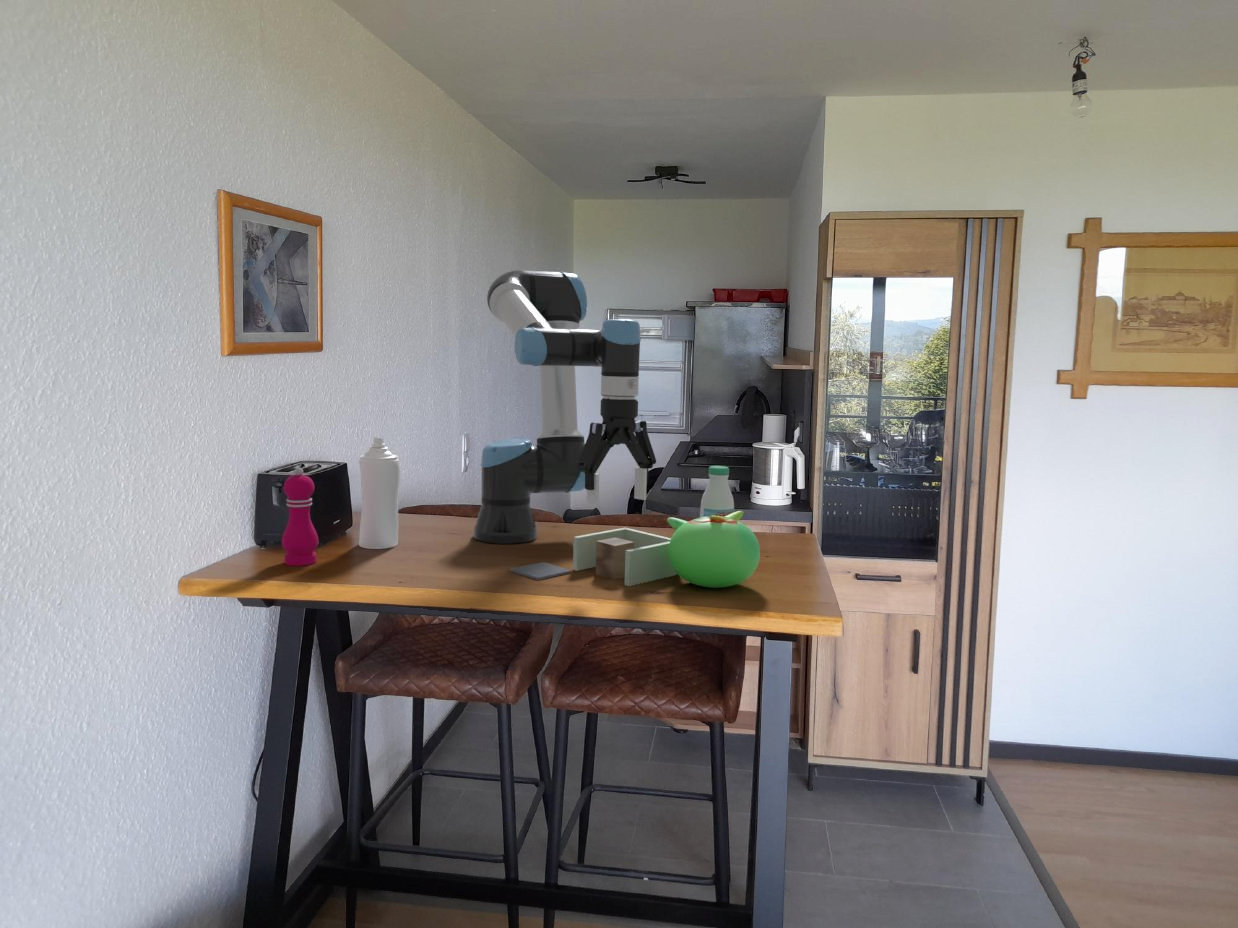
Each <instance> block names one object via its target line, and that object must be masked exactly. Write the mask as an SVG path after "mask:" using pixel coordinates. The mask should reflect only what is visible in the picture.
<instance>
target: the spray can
mask: <svg viewBox="0 0 1238 928" xmlns="http://www.w3.org/2000/svg"><path fill="white" fill-rule="evenodd" d="M372 440H373V442H372V443H371V446H369V447H368V449H369V450H367V451H365V453H364V454H361V455H360V456H359V460H358V463H359V471H360V482H361V502H362V505H361V514H360V522H359V523H360V524H359V534H358V535H359V537H358V539H359V541H358V546H359V547H361V548H364V549H369V550H384V549H391V548H394V547H396V546H398V545H399V544H398V543H399V542H398V540H399V494H400V491H399V490H400V478H401V466H400V460H399V458H398V457H399V455H398V454H394V453H392V452H391V451H390V450H389V447H387V446H386V443H384V438H379V437H373V439H372Z"/></svg>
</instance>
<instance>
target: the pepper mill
mask: <svg viewBox="0 0 1238 928" xmlns="http://www.w3.org/2000/svg"><path fill="white" fill-rule="evenodd" d="M293 472H294V473H293V474H294V475H290V476H289V477H288V478H286V479H285V481H284V484H283V493H284V494H285V495H286V496H287V498H286V506H287V507H288V510H289V515H288V516H289V519H288V522H287V525H286V528H285V530H284V532H283V534H282V538H281V547H282V548H283V549H284V550H285V552H287V553H285V554H284V563H285V565H287V566H290V567H291V566H292V567H302V566H305V567H306V566H311V565H313V564H316V563H317V558H318V557H317V552H315V550H316V548H317V547H318V546H319V543H320V542H319V540H320V539H319V536H318V533H317V530H316V529H315V526H314V524H313V522H312V520H311V513H310V512H311V506H312V505H313V498H312V497H311V496H312V495H313V494H314V492H315V483H314V480H313V479H312V478H311V477H309V476H307V475H305V474H304V469H303V468H301V467H295V469H294V470H293Z"/></svg>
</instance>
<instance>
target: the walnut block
mask: <svg viewBox="0 0 1238 928" xmlns="http://www.w3.org/2000/svg"><path fill="white" fill-rule="evenodd" d="M630 549H634V542H632V541H628V540H624V539H620V538H616V537H615V538H610V539H605V540H599V541H596V567H595V575H597V576H600V577H604V578H607V579H611V580H613V579H614V581H615V580H619V578H620V579H622V578H621V577H624V578H625V552H626V550H630Z"/></svg>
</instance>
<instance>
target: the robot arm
mask: <svg viewBox="0 0 1238 928" xmlns="http://www.w3.org/2000/svg"><path fill="white" fill-rule="evenodd" d="M486 301H487V302H486V303H487V306H488V308H489V311H490V312H491V314H492V315H493V316H494V318H496V320H499V321H500V322H502V323H504V324H505V326H507V328H508V329H509V331H510V332H511V333H512V335H513V337H514V355H515V358H516V361H517V363H519V364H520V365H525V366H527V365H528V366H533V367H539V369H540V370H539V372H540V374H539V375H540V392H541V393H540V394H541V395H540V396H541V397H540V398H541V423H542V428H541V429H542V431H541V432H540V434H539V435H538V436H537V437H536V444H533V443H532V441H531V440H530V439H528V438H511V439H503V440H497V441H494V442H493V441H492V442H491V443H488V444H486V445H485V446H484V447H483V449H482V451H481V453H482V455H481V462H480V467H481V503H480V504H481V505H480V509H479V512H478V514H477V517H476V522H475V525H474V527H473V538H474V539H475V540H476V541H477V540H478V541H480V542H483V543H488V544H490V543H491V544H501V545H502V544H505V545H506V544H521V543H527V542H531V541H532V542H533V541H534V540H536V539H537V538H538V527H537V525H536V520H535V516H534V513H533V509H532V507H531V494H549V493H552V494H553V493H565V494H568V493H571V492H572V493H573V492H581V491H583V490H586V506H589V507H593V508H597V507H599V502H600V501H599V500H600V499H599V498H600V497H599V495H600V473H597V471H598V470H599V468H600V467H601V466H602V463H603V461H604V460H605V458H606V457H607V455H608V453H609V451H610V450H611V448H614V446H615V445H616V446H617V445H618V446H619V445H621V444H622V445H625V446H626V448H627V449H628V451H629V453H630V454H631V456H632V458H633V459H634V461H635V463H636V465H637V467H634V493H633V494H634V495H633V498H634V499H636V500H642V501H646V500H647V485H648V483H649V469H652V468H653V467H654V465H655V464H657V458H656V456H655V453H654V449H653V446H652V443H651V439H650V437H649V434H648V428H647V427H648V426H647V424H648V423H647V421H646V420H639V419H636V418H637V417H638V415H639V400H638V399H636V397H638V396H639V379H640V377H639V376H640V351H641V340H642V338H641V329H640V328H641V327H640V323H639V321H637V320H633V319H615V318H614V319H611V318H610V319H605V320H604V321H603V323H602V328H601V329H579V328H580V322H581V321H583V320H584V319H585V317H586V315H587V313H588V312H587V308H588V297H587V291H586V287H585V284H584V282H583V281H582V279H581V278H580V276H578V275H577V274H576V273H569V272H564V271H560V270H559V271H542V270H526V269H515V270H512V271H508V272H505V273H503V274H502V275H500V276H498V277H497V278H496V279H495V280H494V281H493V282H492V283H491V285H490V286H489V289H488V290H487V297H486ZM576 367H594V368H595V367H596V368H597V367H598V368H599V367H600V368H601V372H600V375H601V376H600V380H601V381H600V396H602V397H603V398H601V399H600V411H599V412H600V416H601V417H602V423H600V422H591V423H590V424H589V431H588V436H587V439H586V442H585V435H583V434H582V433H581V431H579V428H578V427H579V426H578V409H577V408H578V407H577V405H578V404H577V403H578V402H577V383H576V381H577V379H576V378H577V377H576Z"/></svg>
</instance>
